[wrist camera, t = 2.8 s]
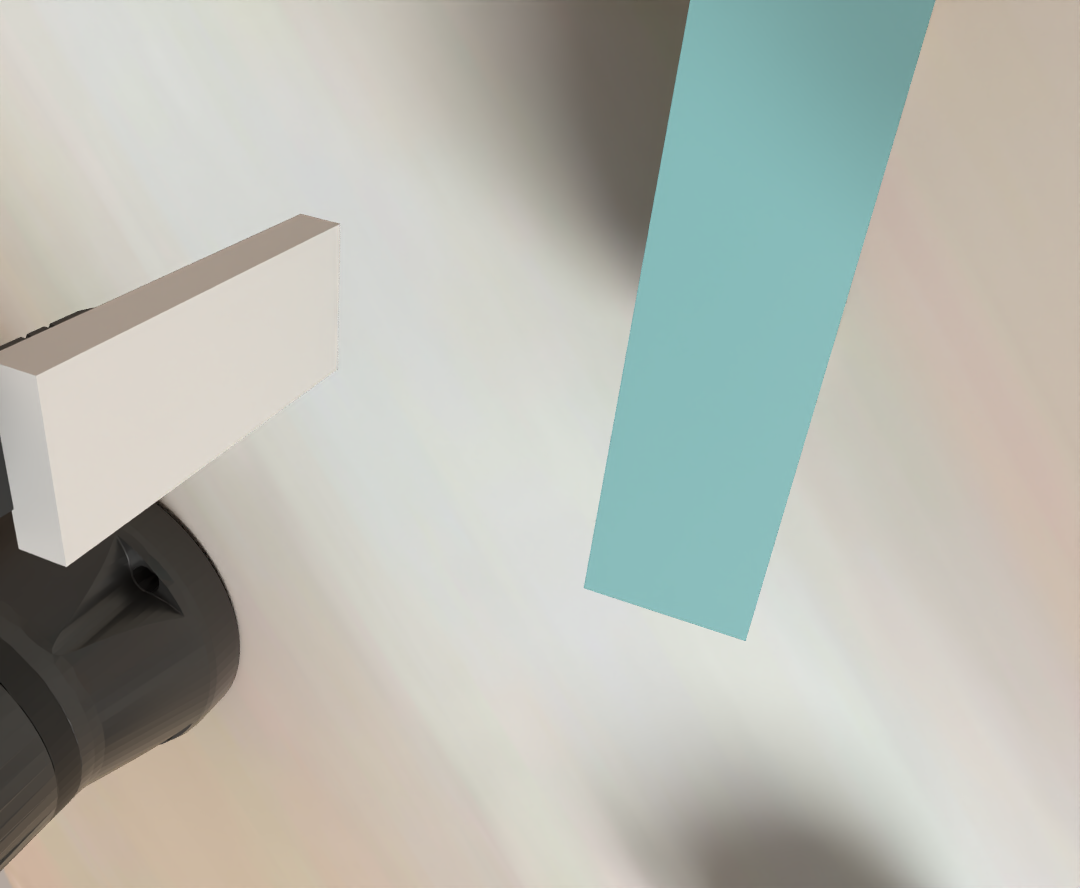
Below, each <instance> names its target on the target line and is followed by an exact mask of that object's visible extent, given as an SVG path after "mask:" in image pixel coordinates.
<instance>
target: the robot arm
mask: <svg viewBox="0 0 1080 888" xmlns="http://www.w3.org/2000/svg"><path fill="white" fill-rule="evenodd" d="M339 263H340V224H339V223H335V222H331V221H327V220H323V219H319V218H315V217H311V216H307V215H303V214H299V215H297V216H295V217H293V218H291V219H288V220H286V221H284V222H282V223H280V224H277V225H275V226H273V227H271V228H269V229H267V230H264V231H262V232H260V233H258V234H256V235H253V236H251V237H249V238H247V239H245V240H242V241H240V242H238V243H236V244H234V245H231V246H229V247H227V248H225V249H223V250H220V251H218V252H216V253H214V254H212V255H209V256H207V257H205V258H203V259H201V260H198V261H196V262H194V263H192V264H190V265H188V266H185V267H183V268H181V269H179V270H177V271H174V272H172V273H170V274H168V275H166V276H163V277H161V278H159V279H157V280H155V281H152V282H150V283H148V284H146V285H144V286H141V287H139V288H137V289H135V290H133V291H130V292H128V293H126V294H124V295H122V296H119V297H117V298H115V299H113V300H111V301H109V302H106V303H104V304H102V305H100V306H98V307H94V308H90V309H85V310H81V311H77V312H75V313H73V314H71V315H68V316H66V317H64V318H62V319H60V320H57V321H55V322H53V323H51V324H50V326H49V328H48V327H42V328H40V329H37V330H35V331H33V332H31V333H29V334H27V336H26V338H22V337H20V338H17V339H15V340H13V341H11V342H9V343H6V344H4V345H2V346H0V871H1V870H2V869H3V868H4V867H5V866H6V865H7V864H8V863H9V862H10V861H11V860H12V859H13V858H14V857H15V856H16V855H17V854H18V853H19V852H20V851H21V850H22V849H23V848H24V847H25V846H26V845H27V844H28V843H29V842H30V841H31V840H32V839H33V838H34V837H35V836H36V835H37V834H38V833H39V832H40V831H41V830H42V829H43V828H44V827H45V826H46V825H47V824H48V823H49V822H50V821H51V820H52V819H53V818H54V817H55V816H56V815H57V814H58V813H59V812H60V811H61V810H62V809H63V808H64V807H65V806H66V805H67V804H68V803H69V802H70V801H71V799H72V798H73V797H74V796H75V795H76V794H77V793H78V792H79V791H81V790H82V789H83V788H84V787H86V786H87V785H89V784H91V783H93V782H94V781H96V780H98V779H100V778H102V777H104V776H105V775H107V774H109V773H111V772H112V771H114V770H116V769H118V768H120V767H121V766H123V765H125V764H127V763H129V762H130V761H132V760H134V759H136V758H137V757H139V756H141V755H143V754H144V753H146V752H148V751H149V750H151V749H153V748H154V747H156V746H158V745H160V744H163V743H166V742H168V741H170V740H172V739H175V738H177V737H179V736H181V735H183V734H185V733H186V732H188V731H189V730H190V729H191V728H193V727H194V726H195V725H197V724H198V723H199V722H200V721H201V720H202V719H203V718H204V716H205V715H206V714H207V713H208V712H209V711H210V710H211V709H212V708H213V707H214V706H215V705H216V704H217V703H218V702H219V700H220V699H221V698H222V697H223V696H224V695H225V694H226V693H227V691H228V690H229V688H230V687H231V685H232V683H233V681H234V678H235V676H236V673H237V669H238V664H239V655H240V643H239V633H238V627H237V623H236V618H235V615H234V612H233V608H232V605H231V603H230V600H229V598H228V595H227V593H226V591H225V589H224V586H223V584H222V583H221V581H220V579H219V577H218V575H217V573H216V572H215V570H214V568H213V567H212V565H211V564H210V562H209V561H208V559H207V557H206V556H205V555H204V553H203V552H202V551H201V549H200V548H199V547H198V545H197V544H196V543H195V542H194V540H193V539H192V538H191V537H190V536H189V535H188V533H187V532H186V531H185V530H184V529H183V528H182V527H181V526H180V525H179V524H178V523H177V522H176V521H175V520H174V519H173V518H172V517H171V516H170V515H169V514H168V513H167V512H166V511H164V510H163V509H162V508H161V507H160V506H158V505H157V504H156V503H155V502H156V501H158V500H159V499H161V498H162V497H163V496H165V495H166V494H167V493H169V492H170V491H172V490H173V489H174V488H176V487H177V486H178V485H180V484H181V483H183V482H184V481H185V480H187V479H188V478H189V477H191V476H192V475H194V474H195V473H196V472H198V471H199V470H200V469H202V468H203V467H204V466H206V465H207V464H209V463H210V462H211V461H213V460H214V459H215V458H217V457H218V456H220V455H221V454H222V453H224V452H225V451H226V450H228V449H229V448H231V447H232V446H233V445H235V444H236V443H237V442H239V441H240V440H242V439H243V438H244V437H246V436H247V435H248V434H250V433H251V432H253V431H254V430H255V429H257V428H258V427H259V426H261V425H262V424H264V423H265V422H266V421H268V420H269V419H270V418H272V417H273V416H275V415H276V414H277V413H279V412H280V411H281V410H283V409H284V408H286V407H287V406H288V405H290V404H291V403H292V402H294V401H295V400H296V399H298V398H299V397H301V396H302V395H303V394H305V393H306V392H307V391H309V390H310V389H312V388H313V387H314V386H316V385H317V384H318V383H320V382H321V381H323V380H324V379H325V378H327V377H328V376H329V375H331V374H332V373H334V372H335V371H336V370H338V327H339Z"/></svg>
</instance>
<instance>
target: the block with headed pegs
mask: <svg viewBox="0 0 1080 888" xmlns="http://www.w3.org/2000/svg"><path fill="white" fill-rule="evenodd" d="M934 3H935V0H690V4H689V10H688V15H687V21H686V26H685V32H684V37H683V43H682V48H681V54H680V59H679V65H678V70H677V76H676V81H675V87H674V92H673V98H672V104H671V109H670V115H669V120H668V126H667V131H666V137H665V142H664V148H663V153H662V159H661V164H660V170H659V175H658V181H657V186H656V192H655V197H654V203H653V209H652V214H651V220H650V225H649V231H648V236H647V242H646V247H645V253H644V258H643V264H642V269H641V275H640V280H639V286H638V291H637V297H636V302H635V308H634V314H633V319H632V325H631V330H630V336H629V341H628V347H627V352H626V358H625V363H624V369H623V374H622V380H621V385H620V391H619V396H618V402H617V407H616V413H615V419H614V424H613V430H612V435H611V441H610V446H609V452H608V457H607V463H606V468H605V474H604V479H603V485H602V490H601V496H600V501H599V507H598V512H597V518H596V524H595V529H594V535H593V540H592V546H591V551H590V557H589V562H588V568H587V573H586V579H585V584H584V588H585V589H588V590H591V591H594V592H597V593H600V594H603V595H606V596H609V597H613V598H616V599H619V600H622V601H625V602H628V603H631V604H634V605H637V606H640V607H643V608H646V609H649V610H652V611H655V612H658V613H661V614H664V615H668V616H671V617H674V618H677V619H680V620H683V621H686V622H689V623H692V624H695V625H698V626H701V627H704V628H707V629H710V630H713V631H716V632H719V633H723V634H726V635H729V636H732V637H735V638H738V639H741V640H744V641H746V638H747V634H748V631H749V627H750V624H751V621H752V617H753V614H754V611H755V607H756V604H757V600H758V597H759V594H760V590H761V587H762V584H763V580H764V577H765V573H766V570H767V567H768V563H769V560H770V557H771V553H772V550H773V546H774V543H775V540H776V536H777V533H778V530H779V526H780V523H781V519H782V516H783V513H784V509H785V506H786V503H787V499H788V496H789V492H790V489H791V486H792V482H793V479H794V476H795V472H796V469H797V465H798V462H799V459H800V455H801V452H802V449H803V445H804V442H805V438H806V435H807V432H808V428H809V425H810V422H811V418H812V415H813V411H814V408H815V405H816V401H817V398H818V395H819V391H820V388H821V384H822V381H823V378H824V374H825V371H826V368H827V364H828V361H829V357H830V354H831V351H832V347H833V344H834V341H835V337H836V334H837V330H838V327H839V324H840V320H841V317H842V314H843V310H844V307H845V303H846V300H847V297H848V293H849V290H850V287H851V283H852V280H853V276H854V273H855V270H856V266H857V263H858V260H859V256H860V253H861V249H862V246H863V243H864V239H865V236H866V233H867V229H868V226H869V222H870V219H871V216H872V212H873V209H874V206H875V202H876V199H877V195H878V192H879V189H880V185H881V182H882V179H883V175H884V172H885V168H886V165H887V162H888V158H889V155H890V152H891V148H892V145H893V141H894V138H895V135H896V131H897V128H898V125H899V121H900V118H901V114H902V111H903V108H904V104H905V101H906V98H907V94H908V91H909V87H910V84H911V81H912V77H913V74H914V71H915V67H916V64H917V60H918V57H919V54H920V50H921V47H922V44H923V40H924V37H925V33H926V30H927V27H928V23H929V20H930V17H931V13H932V10H933V6H934Z"/></svg>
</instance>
